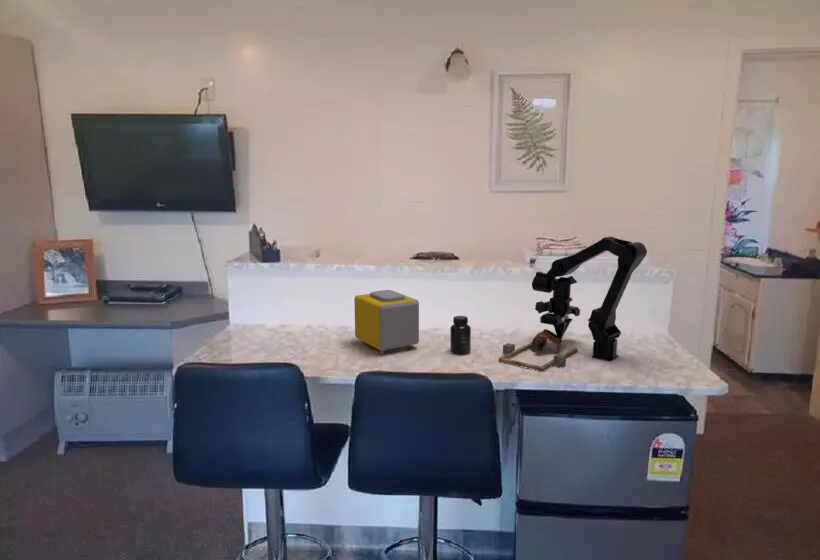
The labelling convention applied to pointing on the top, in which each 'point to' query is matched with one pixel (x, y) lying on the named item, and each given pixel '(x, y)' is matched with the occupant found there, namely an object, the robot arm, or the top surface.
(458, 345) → the supplement bottle
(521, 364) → the wooden u-shaped frame
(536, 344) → the brown broken pot
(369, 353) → the top surface
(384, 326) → the alarm clock
